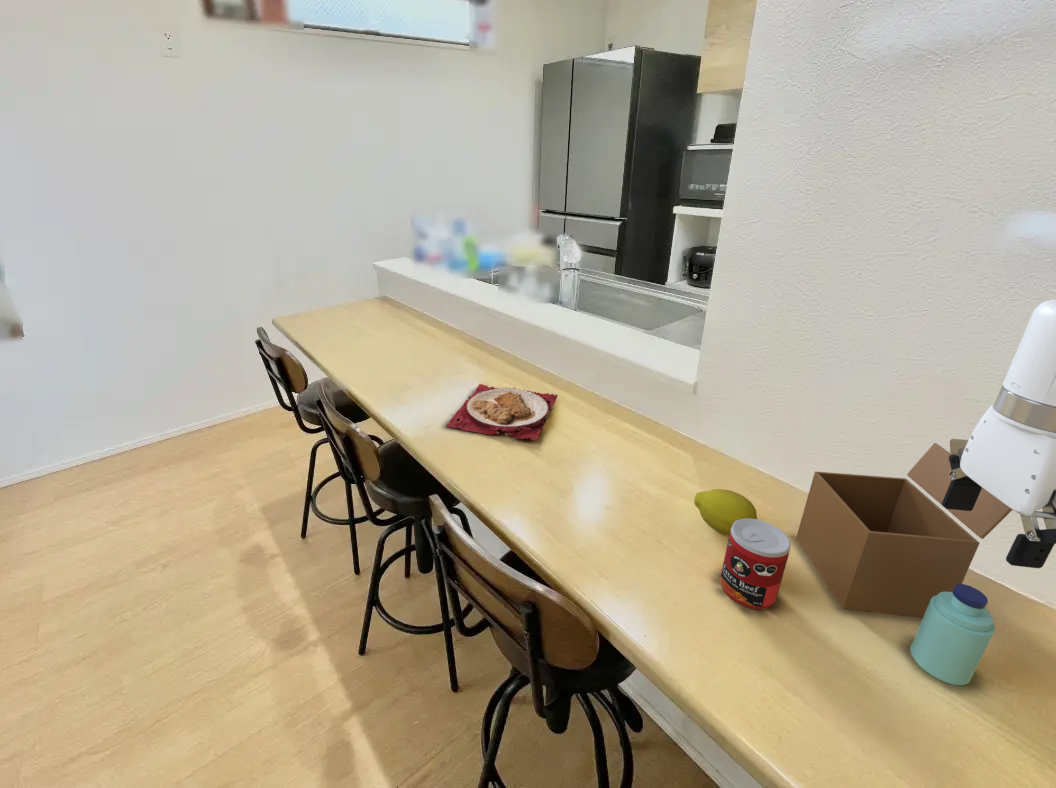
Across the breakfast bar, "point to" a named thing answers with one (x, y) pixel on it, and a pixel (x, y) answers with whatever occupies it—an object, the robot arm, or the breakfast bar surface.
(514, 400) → the plate with food
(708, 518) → the lemon
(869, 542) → the carton
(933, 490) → the flap
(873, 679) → the breakfast bar surface
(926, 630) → the bottle
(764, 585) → the canned food
